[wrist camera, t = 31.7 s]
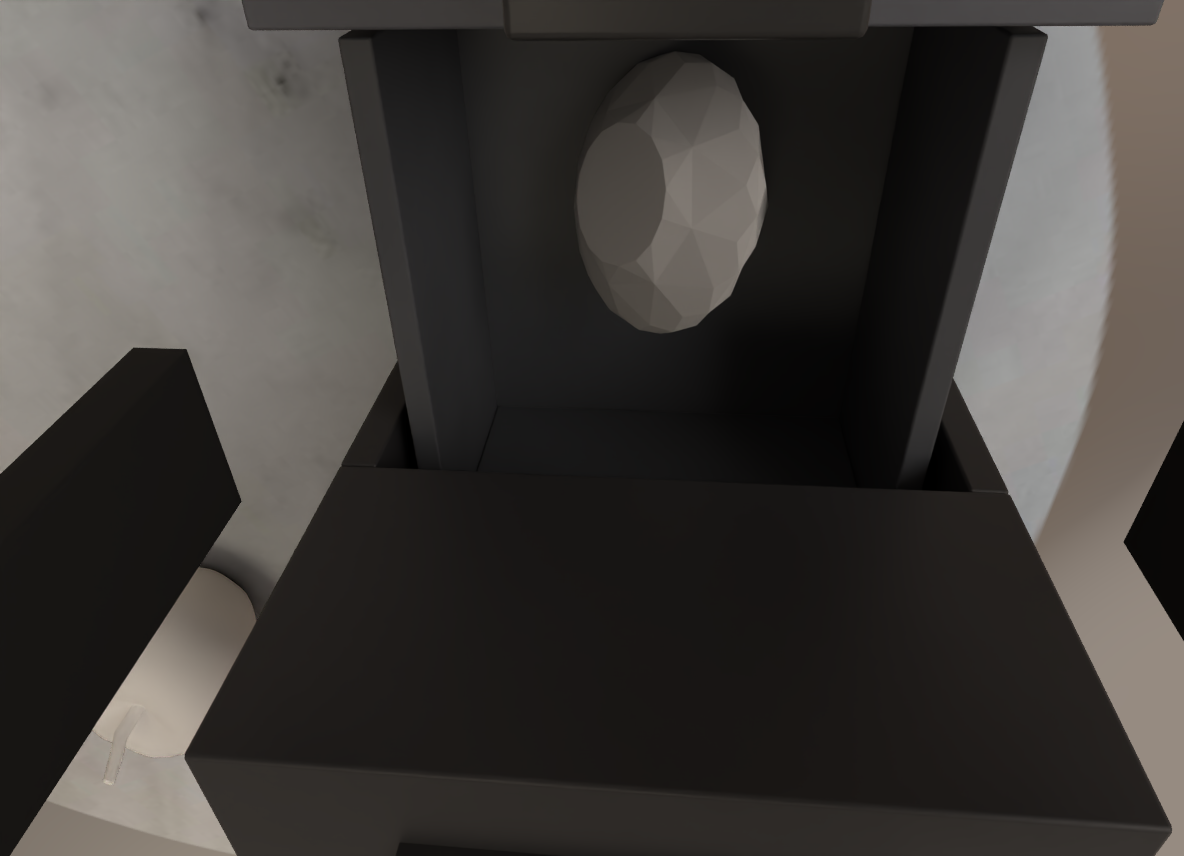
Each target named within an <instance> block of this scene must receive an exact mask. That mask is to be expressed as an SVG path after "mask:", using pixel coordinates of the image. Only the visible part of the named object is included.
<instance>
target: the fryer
mask: <svg viewBox="0 0 1184 856" xmlns="http://www.w3.org/2000/svg"><path fill="white" fill-rule="evenodd" d="M341 465H342V467H340V468H339V470H338V472H337V474H336V476H335V478H334V479H333V481H332V483H331V485H330V487H329V489H328V490H327V492H326V494H325V496H324V498H323V500H322V502H321V503H320V505H319V507H318V509H317V511H316V513H315V514H314V516H313V518H312V520H311V522H310V524H309V525H308V527H307V529H306V531H305V533H304V535H303V537H302V538H301V540H300V542H299V544H298V546H297V548H296V549H295V551H294V553H293V555H292V557H291V559H290V560H289V562H288V564H287V566H286V568H285V570H284V572H283V573H282V575H281V577H280V579H279V581H278V583H277V584H276V586H275V588H274V590H273V592H272V594H271V595H270V597H269V599H268V601H267V603H266V605H265V607H264V608H263V610H262V612H261V614H260V616H259V618H258V619H257V621H256V623H255V625H254V627H253V629H252V630H251V632H250V634H249V636H248V638H247V640H246V642H245V643H244V645H243V647H242V649H241V651H240V653H239V654H238V656H237V658H236V660H235V662H234V664H233V665H232V667H231V669H230V671H229V673H228V675H227V677H226V678H225V680H224V682H223V684H222V686H221V688H220V689H219V691H218V693H217V695H216V697H215V699H214V700H213V702H212V704H211V706H210V708H209V710H208V712H207V713H206V715H205V717H204V719H203V721H202V723H201V724H200V726H199V728H198V730H197V732H196V734H195V735H194V737H193V739H192V741H191V743H190V745H189V747H188V748H187V750H186V752H185V760H186V762H187V764H188V766H189V768H190V770H191V771H192V773H193V775H194V777H195V779H196V781H197V782H198V784H199V786H200V788H201V790H202V792H203V794H204V795H205V797H206V799H207V801H208V803H209V805H210V806H211V808H212V810H213V812H214V814H215V816H216V818H217V819H218V821H219V823H220V825H221V827H222V829H223V830H224V832H225V834H226V836H227V838H228V840H229V842H230V843H231V845H232V847H233V849H234V851H235V853H236V854H237V856H1155V854H1156V853H1157V852H1158V851H1159V849H1160V848H1161V846H1162V845H1163V844H1164V842H1165V841H1166V840H1167V838H1168V837H1169V836H1170V834H1171V833H1172V828H1171V824H1170V822H1169V820H1168V818H1167V816H1166V814H1165V812H1164V810H1163V808H1162V806H1161V803H1160V802H1159V799H1158V797H1157V795H1156V793H1155V791H1154V789H1153V787H1152V785H1151V783H1150V781H1149V779H1148V777H1147V775H1146V773H1145V771H1144V769H1143V767H1142V765H1141V762H1140V760H1139V758H1138V756H1137V754H1136V752H1135V750H1134V748H1133V746H1132V744H1131V742H1130V740H1129V738H1128V736H1127V734H1126V732H1125V730H1124V728H1123V726H1122V724H1121V721H1120V720H1119V718H1118V715H1117V713H1116V711H1115V709H1114V707H1113V705H1112V703H1111V701H1110V699H1109V697H1108V695H1107V693H1106V691H1105V689H1104V687H1103V685H1102V683H1101V680H1100V678H1099V676H1098V675H1097V672H1096V670H1095V668H1094V666H1093V664H1092V662H1091V660H1090V658H1089V656H1088V654H1087V652H1086V650H1085V648H1084V646H1083V644H1082V642H1081V640H1080V637H1079V635H1078V634H1077V632H1076V629H1075V627H1074V625H1073V623H1072V621H1071V619H1070V617H1069V615H1068V613H1067V611H1066V609H1065V607H1064V605H1063V603H1062V601H1061V599H1060V597H1059V594H1058V592H1057V590H1056V588H1055V586H1054V584H1053V582H1052V580H1051V578H1050V576H1049V574H1048V572H1047V570H1046V568H1045V566H1044V564H1043V562H1042V560H1041V558H1040V555H1039V554H1038V551H1037V549H1036V547H1035V545H1034V543H1033V541H1032V539H1031V537H1030V535H1029V533H1028V531H1027V529H1026V527H1025V525H1024V523H1023V521H1022V519H1021V517H1020V514H1019V512H1018V510H1017V508H1016V506H1015V504H1014V502H1013V500H1012V498H1011V496H1010V495H1008V490H1007V488H1006V485H1005V483H1004V481H1003V479H1002V477H1001V475H1000V473H999V471H998V469H997V467H996V465H995V463H994V461H993V459H992V457H991V455H990V453H989V451H988V449H987V447H986V445H985V442H984V440H983V438H982V436H981V434H980V432H979V430H978V428H977V426H976V424H975V422H974V420H973V418H972V416H971V414H970V412H969V410H968V408H967V406H966V404H965V401H964V399H963V397H962V395H961V393H960V391H959V389H958V387H957V385H956V383H955V381H954V379H952V383H951V387H950V390H949V394H948V397H947V401H946V405H945V408H944V412H943V415H942V419H941V422H940V426H939V430H938V433H937V437H936V440H935V444H934V448H933V451H932V455H931V458H930V462H929V466H928V469H927V473H926V476H925V480H924V483H923V487H922V490H905V489H881V488H857V487H833V486H809V485H785V484H762V483H738V482H714V481H690V480H666V479H642V478H619V477H595V476H571V475H547V474H523V473H499V472H476V471H452V470H428V469H418V466H417V461H416V456H415V450H414V445H413V439H412V434H411V429H410V423H409V418H408V412H407V407H406V402H405V396H404V391H403V386H402V380H401V375H400V369H399V364H398V361H397V362H396V364H395V366H394V368H393V370H392V372H391V373H390V375H389V377H388V379H387V381H386V383H385V384H384V386H383V388H382V390H381V392H380V394H379V395H378V397H377V399H376V401H375V403H374V405H373V407H372V408H371V410H370V412H369V414H368V416H367V418H366V419H365V421H364V423H363V425H362V427H361V429H360V430H359V432H358V434H357V436H356V438H355V440H354V441H353V443H352V445H351V447H350V449H349V451H348V452H347V454H346V456H345V458H344V460H343V462H342V464H341Z"/></svg>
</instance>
